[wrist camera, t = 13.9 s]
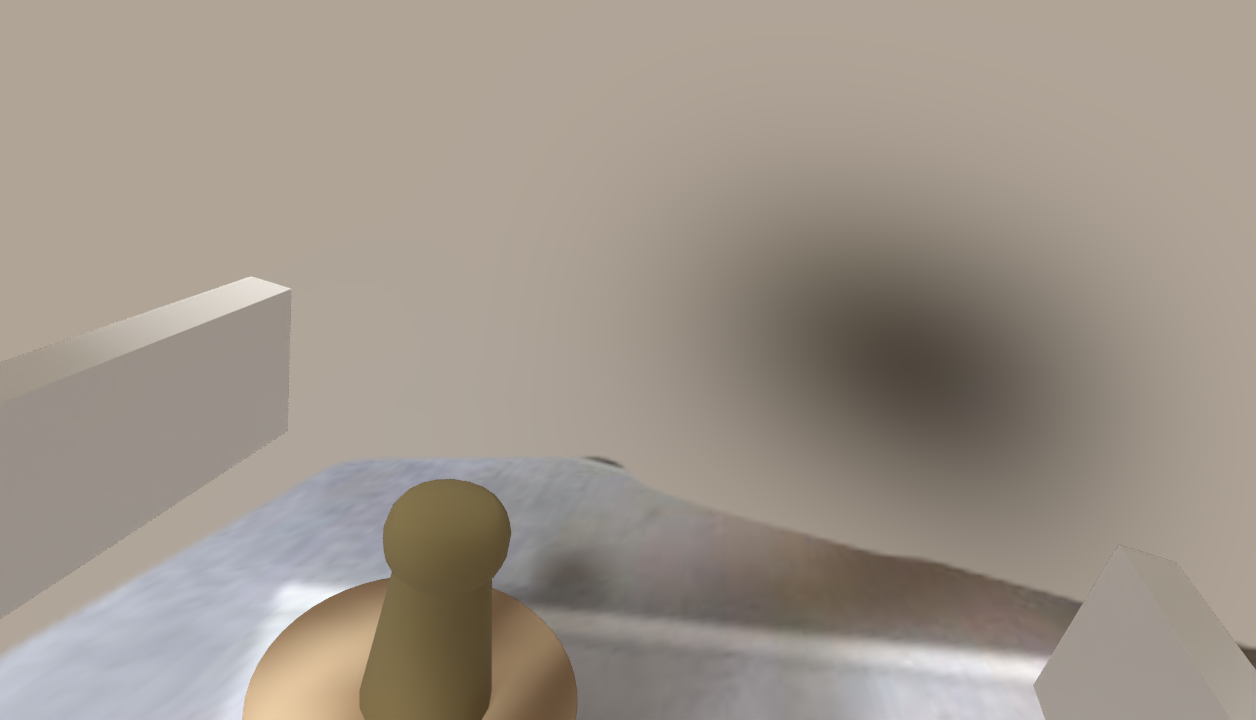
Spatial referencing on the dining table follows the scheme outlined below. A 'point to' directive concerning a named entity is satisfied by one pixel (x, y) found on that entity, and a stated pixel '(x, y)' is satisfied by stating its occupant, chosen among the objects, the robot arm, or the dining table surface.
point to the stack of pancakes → (340, 646)
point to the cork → (437, 605)
